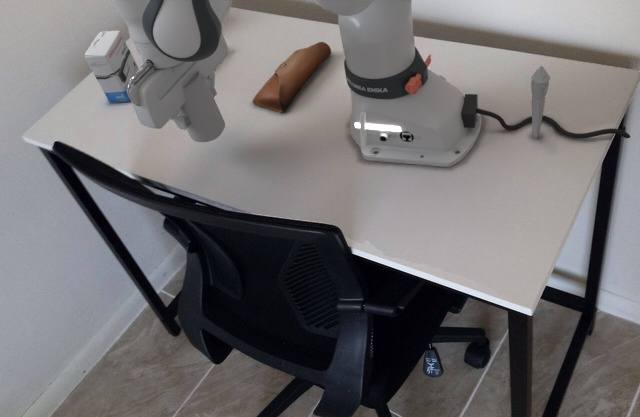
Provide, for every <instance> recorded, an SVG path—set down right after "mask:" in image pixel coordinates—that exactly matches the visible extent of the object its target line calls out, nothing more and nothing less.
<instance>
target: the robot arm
mask: <svg viewBox="0 0 640 417" xmlns="http://www.w3.org/2000/svg"><path fill="white" fill-rule="evenodd" d="M313 1H314V2H315V3H316V4H317V5H318V6H319V7H320V8H322V9H323V10H324V11H326V12H328V13H331V14H333V15H336V16H337V21H338V22H337V23H338V28H339V33H340V39H341V45H342V49H343V55H344V59H343V60H344V61H343V67H344V74H345V79H346V85H347V86H348V87H349V89H350V100H351V114H350V123H349V133H350V136H351V138H352V139H353V140H354V141H355V143H356V144H357V145H358V147H359V148H360V154H361V158H363V160H366V161H370V162H384V163H395V164H406V165H416V166H417V165H418V166H428V167H430V166H432V167H442V168H443V167H444V168H450V167H453V166H454V165H456V164H458V163H459V162H461V161H462V160H463V159H464V158H465V157H466V156H467V155H468V154H469V153H470V151H471V150H472V149H473V146H475V144H476V142H477V140H478V137H479V135H480V134H481V133H480V132H481V130H482V115H483V116H486V117H489V118H493V119H494V120H497V121H498V123H499V124H500V126H501V127H502V128H503V129H504V130H507V131H515V130H518V129H520V128H522V127H524V126H525V125H528V124H529V123H532V115H530V116H528V117H526V118H524V119H523V120H522V121H519V122H518V123H515V124H511V125H510V124H507V122H506V121H505V119H504V118H503V117H502V116H501V115H499V114H497V113H495V112H492V111H490V110H486V109H482V108H479V99H478V98H479V96H478V93H465V94H463V92H462V90H461V89H460V88H458V87H456V86H455V85H453V84H451V83H450V82H448V81H447V79H446V78H445V77H444V76H443V75H440V74H436V73H435V72H434V71H432V70H431V69H429V66H430V65H431V62H432V54H431V53H430V54H429V55H428V56H426V58H425V61H424V58H423V57H422V55H421V54H420V51H419V50H418V48H417V47H416V43H415V32H414V22H413V11H412V10H413V8H412V7H413V6H412V0H313ZM111 2H112V4H113V6H114V8H115V10H116V12H117V14H118V15H119V16H120V17H121V18H122V19H123V21H124V22H125V23H126V25H127V29H128V35H129V37H130V39H131V41H132V43H133V45H134V48H136V51H137V53H138V55H139V57H140V58H141V60H142V62H143V63H142V64H141V66H139V67H138V68H139V70H138V71H137V72H136V73H134V74H133V75H132V76H131V77H130V79H129V81H130V82H129V84H128V89H127V94H128V96H129V98H130V103H131V104H132V107H133V110H134V113H135V115H136V117H137V119H138V121H139V122H140V124H141V125H142V126H145V127H147V128H152V129H157V130H160V129H162V128H164V126H166V124H167V123H168V122H169V121H170V120H171V121H173V122H175V124H176V126H177V128H178V129H179V130H182V131H187V128H188V127H189V125H190V124H191V122H190V121H189V118H188V117H187V116H182V115H179V114H180V112H179V109H180V107H181V106H182V105H183V104H184V103H185V102H186V100H185V97H184V89H183V88H184V87H185V85H186V84H188V83H189V82H190V81H191V80H192V79H193V77H194V76H195V75H196V73H198V71H199V72H200V74H202V75H204V77H205V80H206V82H207V84H208V86H209V88H210V91H211V93H212V95H213V97H214V98H215V97H216V96H217V95H218V93H217V92H218V91H217V90H216V87H215V83H216V74H215V70H216V69H217V68H218V67H219V65H220V64H221V63H222V62H224V60H225V58H227V56H228V49H229V48H228V44H227V41H226V38H225V36H224V34H223V31H222V30H223V28H224V26H225V23H226V21H227V18H228V15H229V12H230V10H231V7H232V4H233V2H234V0H111ZM542 121H544V122H547V123H548V124H550V125H551V126H552V127H553V128H554V129H555V130H556V132H558V133H559V134H561V135H563V136H565V137H568V138H572V139H589V138H593V137H598V136H603V135H604V136H605V135H611V134H614V135H619V136H620V137H623V138H625V139H630V138H631V135H630V134H629V133H628V132H626V131H625V130H623V129H619V128H612V127H611V128H603V129H598V130H594V131H589V132H582V133H581V132H580V133H575V132H572V131H571V132H570V131H568V130H566V129H565V128H563V127H562V126H561V125H560V124H559V123H558V122H557V121H555V120H554V119H553V117H549V116H547V115H544V114H543V116H542Z"/></svg>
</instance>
